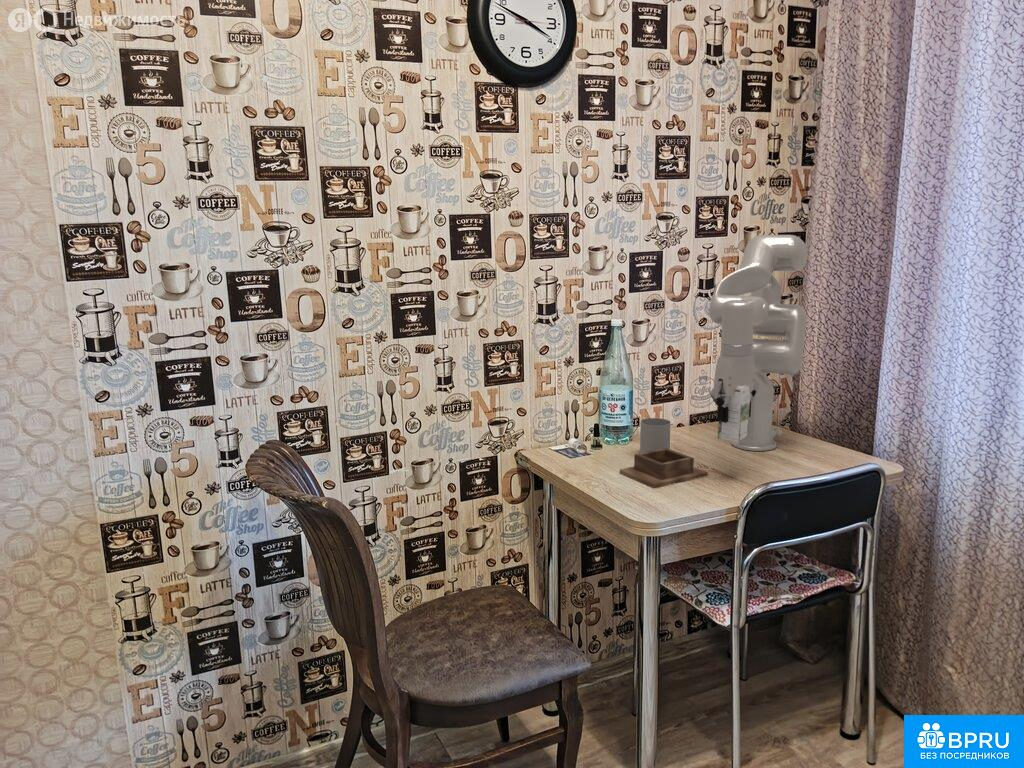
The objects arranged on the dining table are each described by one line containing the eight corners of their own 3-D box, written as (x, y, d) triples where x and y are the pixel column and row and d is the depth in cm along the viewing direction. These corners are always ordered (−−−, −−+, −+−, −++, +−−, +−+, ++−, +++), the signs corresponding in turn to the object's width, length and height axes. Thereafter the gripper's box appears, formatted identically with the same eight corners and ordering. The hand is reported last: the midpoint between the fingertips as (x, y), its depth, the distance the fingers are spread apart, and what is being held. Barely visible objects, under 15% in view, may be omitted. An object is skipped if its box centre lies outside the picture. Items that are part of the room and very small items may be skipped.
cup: (642, 460, 210) (643, 425, 208) (637, 451, 218) (637, 418, 216) (672, 459, 210) (673, 425, 208) (666, 451, 219) (666, 417, 216)
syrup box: (726, 433, 196) (728, 379, 193) (748, 437, 193) (751, 382, 189) (717, 439, 192) (719, 384, 189) (739, 443, 189) (741, 387, 185)
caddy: (671, 461, 208) (671, 444, 207) (707, 475, 197) (708, 457, 196) (619, 473, 200) (619, 455, 199) (654, 488, 188) (654, 469, 187)
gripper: (749, 343, 194) (747, 409, 199) (699, 352, 186) (697, 421, 190) (772, 348, 188) (769, 416, 192) (722, 357, 180) (719, 428, 184)
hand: (733, 418), depth 191 cm, fingers closed on syrup box, 7 cm apart
